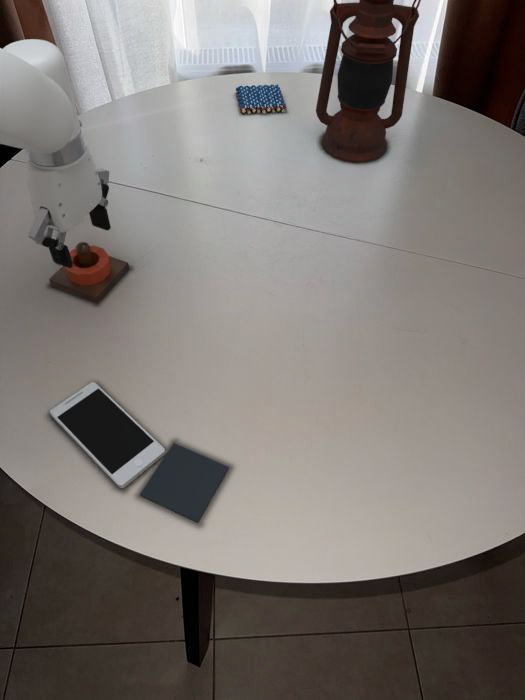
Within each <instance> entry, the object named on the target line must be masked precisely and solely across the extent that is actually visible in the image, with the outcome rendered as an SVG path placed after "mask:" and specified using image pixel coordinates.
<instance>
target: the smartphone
mask: <svg viewBox="0 0 525 700" xmlns="http://www.w3.org/2000/svg"><path fill="white" fill-rule="evenodd" d="M49 414H50V415H51V418H52V419H53V420H54V421H55V422H56V423H57V424H58V425H59V426H60V427H61V428H62V429H63V430H64V431H65V432H66V433H67V434H68V435H69V436H70V438H71V439H72V440H73V441H74V442H75V443H76V444H77V445H78V446H79V447H80V448H81V449H82V450H83V451H84V452H85V453H86V455H88V456H89V457H90V459H91V460H93V462H94V463H96V465H97V466H98V467H99V468H100V470H102V471H103V472H104V473H105V474H106V475H107V476H108V477H109V479H110V480H112V482H114V484H115V485H116V486H117V487H118V488H120V489H125V488H126V487H127V486H128V485H130V484H131V483H132V482H133V481H134V480H135V479H137V478H138V477H139V476H141V475H142V474H143V473H144V472H146V470H148V469H149V468H150V467H152V466H153V465H154V464H156V462H158V461H159V460H160V459H162V458H163V457H165V455H166V450H165V449H166V448H164V446H163V445H162V444H160V442H159V441H157V439H155V438H154V437H153V436H152V435H151V434H150V433H149V432H148V431H147V430H146V429H145V428H144V427H142V425H140V423H139V422H138V421H136V420H135V419H134V418H133V417H132V416H131V415H130V414H129V413H128V412H127V411H126V410H125V409H124V408H123V407H121V406H120V404H118V403H117V402H116V401H115V400H114V399H113V398H112V397H111V396H110V395H109V394H108V393H107V392H106V391H105V390H104V389H103V388H102V387H100V386H99V385H98V383H96V382H95V381H91V382H90V383H88V384H87V385H86V386H84V387H82V388H81V389H79V390H78V391H77V392H75V393H74V394H72V395H71V396H70V397H68V398H66V399H65V400H63V401H62V402H60V403H59V404H58V405H56V406H55V407H53V408H52V409H50V410H49Z"/></svg>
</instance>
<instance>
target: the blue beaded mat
mask: <svg viewBox="0 0 525 700" xmlns="http://www.w3.org/2000/svg"><path fill="white" fill-rule="evenodd" d="M235 94H236V97H237V98H236V99H237V103H238V107H239V112H241V113H243V114H245V113H246V112H247V114H248V115H250V114H251V113H258V114H260V113H262V114H266V111H267V112H271V111H272V113H273V114H275V112H276V111H277V112H280V111H281V112H282V113H285V112H286V110H285V109H287V104H286V103H285V100H284V96H283V94H282V90H281V87H280V85H279V84H273V83H272V84H259V85H254V84H252V85H245V86H244V85H239V86H238V87H235Z"/></svg>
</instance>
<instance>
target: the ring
mask: <svg viewBox="0 0 525 700" xmlns="http://www.w3.org/2000/svg"><path fill="white" fill-rule="evenodd" d="M89 246H90V248H91V250H90V251H91V254H92V258H93V262H95V263H97V264H96V265H94V266H92V267H89V268H79V266H80V265H81V264H80V260H79V257H78V253H77V252H76V247H75V248H73V249H71V250H69V253H70V256H71V259H72V262H73V266H72V267H71V268H68V267H65V266H64V268H65V271H66V274H67V276H68V278H69V279H70V280H71V282H73V283H76V284H79V285H94V284H96V283H99V282H101V281H103V280H104V279H105V278H106V277H107V276H108V275H109V274H110V270H111V264H110V260H109V256H110V255H109V253H108V252H107V251H106V250H105V248H103V247H100V246H98V245H90V244H89Z"/></svg>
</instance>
